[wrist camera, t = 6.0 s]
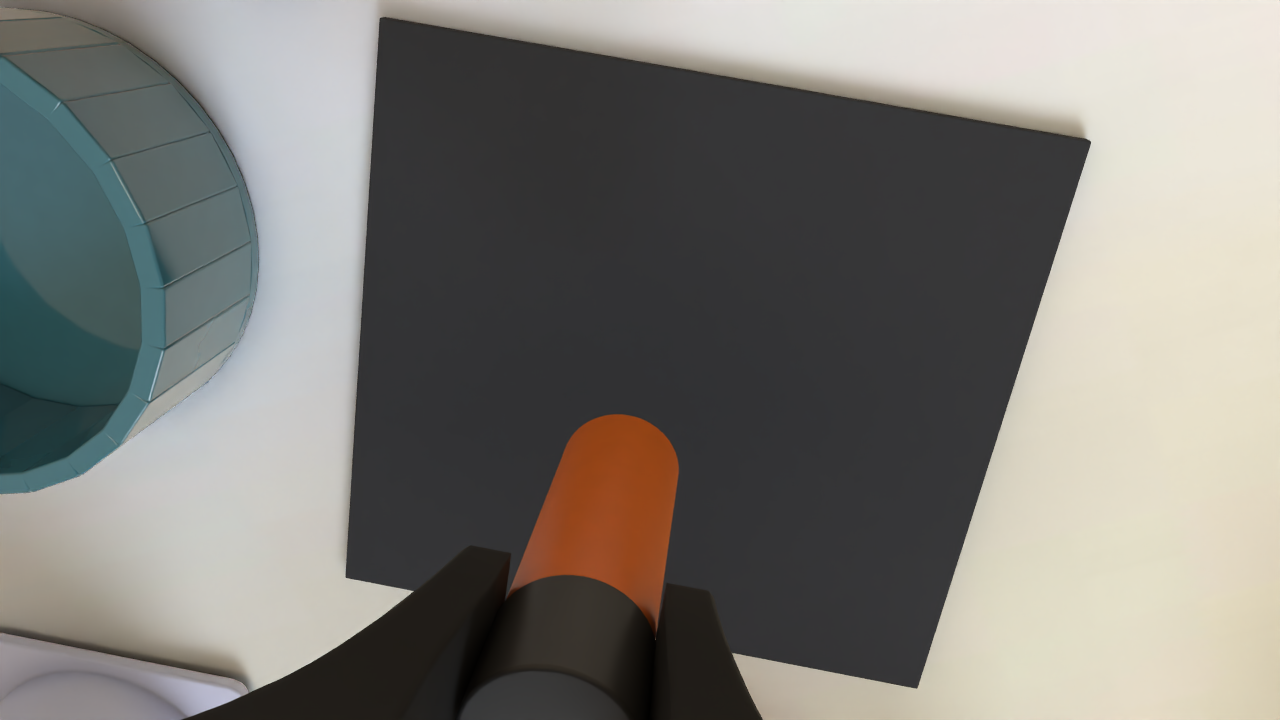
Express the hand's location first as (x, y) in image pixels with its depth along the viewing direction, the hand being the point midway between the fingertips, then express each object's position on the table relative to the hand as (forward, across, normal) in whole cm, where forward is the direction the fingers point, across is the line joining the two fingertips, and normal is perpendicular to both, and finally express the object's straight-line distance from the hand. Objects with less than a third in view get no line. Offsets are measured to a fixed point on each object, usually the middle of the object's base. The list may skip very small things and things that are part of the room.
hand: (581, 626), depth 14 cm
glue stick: (+5, 0, 0) cm, 5 cm away
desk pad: (+10, -1, 0) cm, 10 cm away
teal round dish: (+10, +14, -1) cm, 17 cm away
